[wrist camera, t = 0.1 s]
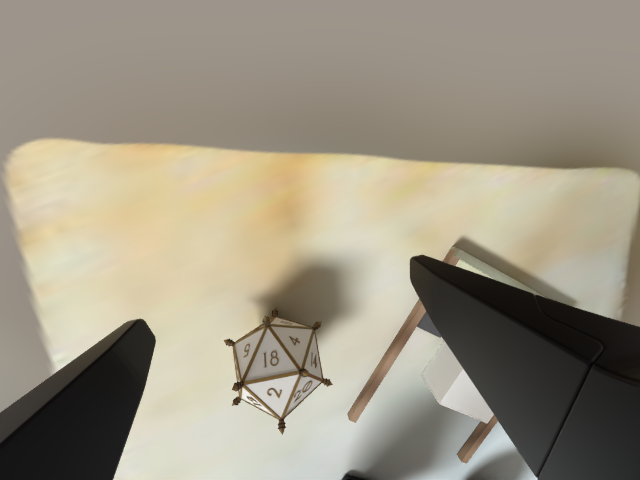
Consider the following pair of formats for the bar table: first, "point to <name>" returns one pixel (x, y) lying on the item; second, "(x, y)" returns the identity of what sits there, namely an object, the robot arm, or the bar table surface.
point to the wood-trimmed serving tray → (405, 334)
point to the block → (454, 386)
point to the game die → (277, 366)
